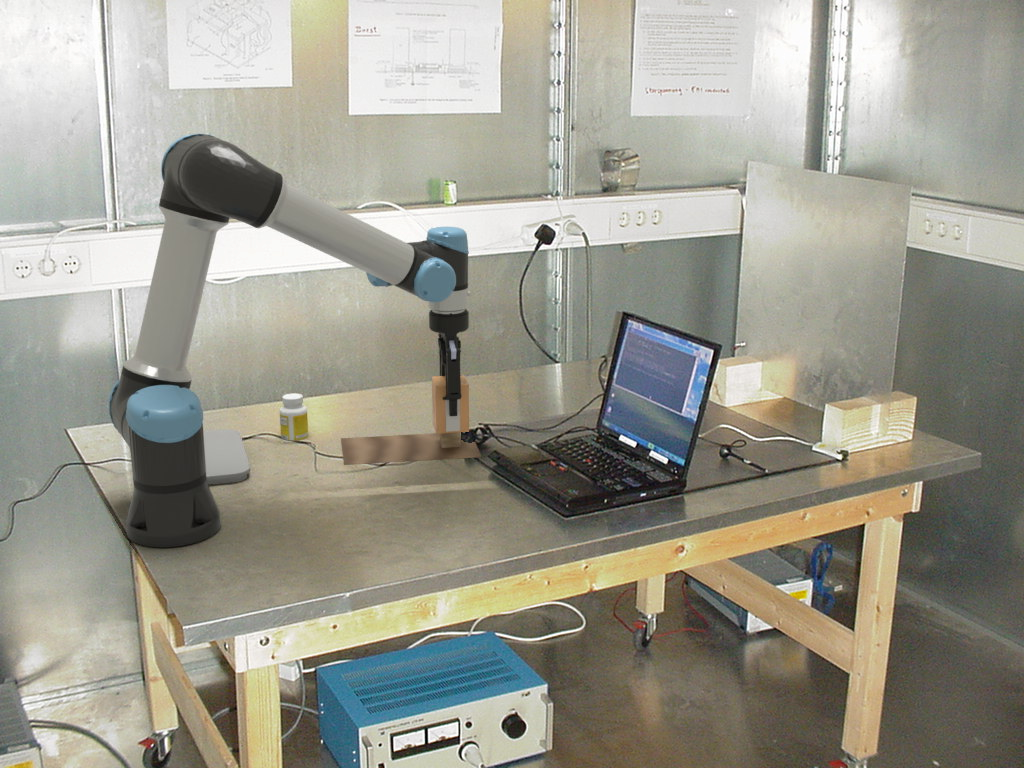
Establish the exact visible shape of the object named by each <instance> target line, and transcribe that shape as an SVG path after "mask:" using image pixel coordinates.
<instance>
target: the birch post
mask: <svg viewBox="0 0 1024 768" xmlns="http://www.w3.org/2000/svg"><path fill="white" fill-rule="evenodd" d="M440 443H441V446H442V448H451V447H461V432H460V433H443V434H440Z"/></svg>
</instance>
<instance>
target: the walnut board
mask: <svg viewBox="0 0 1024 768" xmlns="http://www.w3.org/2000/svg"><path fill="white" fill-rule="evenodd" d="M340 444H341V445H340V446H341V451H342V458H343V459H342V460H343V466H349V465H350V466H351V465H353V466H354V465H366V464H370V465H371V464H384V463H386V464H387V463H404V462H419V461H420V462H421V461H437V460H440V461H442V460H458V459H470V458H471V459H473V458H474V459H475V458H477V459H478V458H482V454H481V453H480V449H479V448H478V445H477V443H476V441H475V442H472V443H468V442H464V441H463V440H461V447H451V448H442V446H441V443H440V434H436V432H435V433H415V434H398V435H397V434H395V435H393V434H392V435H377V436H376V435H375V436H361V437H359V436H358V437H356V436H355V437H342V438H340Z"/></svg>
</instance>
